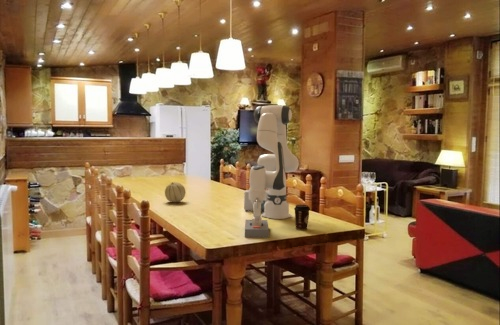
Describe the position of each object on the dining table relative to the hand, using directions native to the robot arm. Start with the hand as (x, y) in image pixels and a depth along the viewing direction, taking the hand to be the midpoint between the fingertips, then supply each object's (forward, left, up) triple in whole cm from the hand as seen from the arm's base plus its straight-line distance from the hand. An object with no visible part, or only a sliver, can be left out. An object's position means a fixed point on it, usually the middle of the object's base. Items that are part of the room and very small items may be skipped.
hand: (256, 222), depth 217 cm
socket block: (0, 0, -5) cm, 5 cm away
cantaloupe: (-81, -58, -5) cm, 100 cm away
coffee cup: (-9, +25, -5) cm, 27 cm away
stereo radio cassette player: (-58, +3, -5) cm, 58 cm away
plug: (0, 0, -5) cm, 5 cm away
